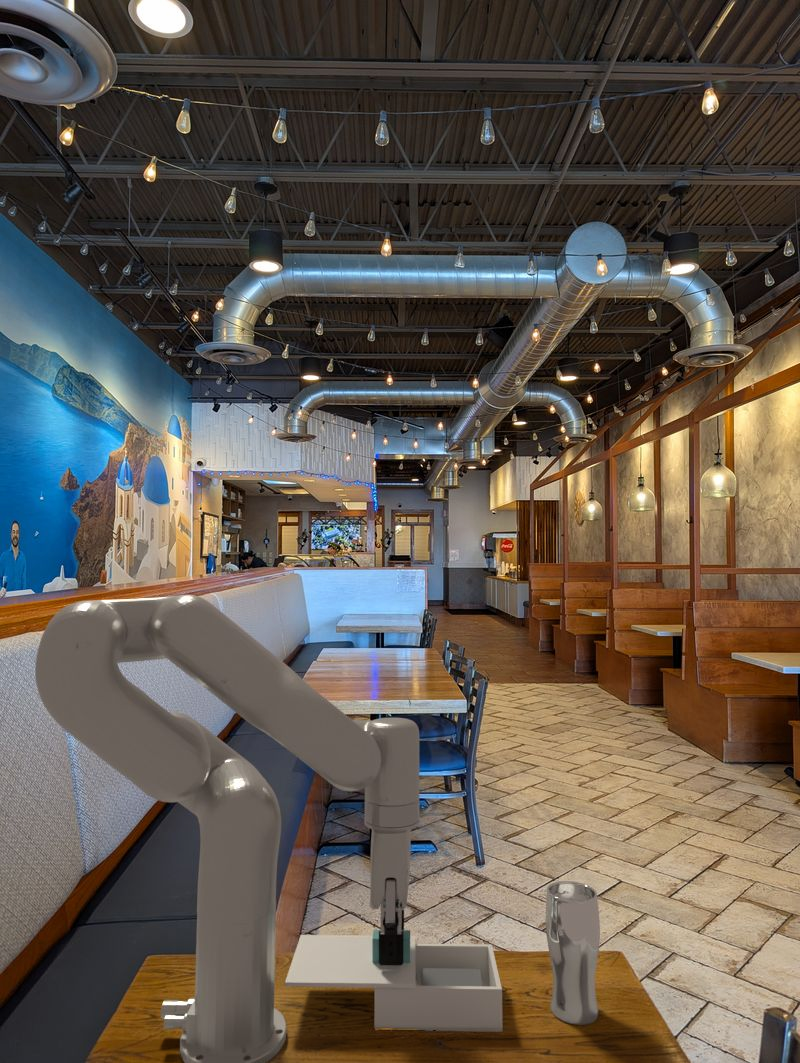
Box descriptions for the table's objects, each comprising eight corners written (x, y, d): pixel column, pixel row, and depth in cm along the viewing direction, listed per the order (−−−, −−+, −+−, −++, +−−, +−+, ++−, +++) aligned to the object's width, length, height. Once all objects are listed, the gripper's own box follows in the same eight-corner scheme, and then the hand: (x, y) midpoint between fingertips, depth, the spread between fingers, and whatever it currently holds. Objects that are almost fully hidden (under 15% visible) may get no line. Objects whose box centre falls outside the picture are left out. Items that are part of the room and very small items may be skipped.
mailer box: (374, 1030, 84) (374, 987, 85) (378, 980, 95) (378, 943, 96) (502, 1031, 84) (502, 989, 84) (492, 981, 95) (491, 944, 95)
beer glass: (610, 1026, 85) (606, 902, 86) (555, 1028, 85) (553, 903, 86) (591, 994, 92) (588, 879, 93) (541, 996, 92) (539, 880, 93)
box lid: (284, 986, 84) (285, 957, 85) (300, 938, 96) (301, 912, 97) (415, 988, 84) (415, 958, 85) (415, 939, 96) (415, 913, 96)
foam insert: (422, 1014, 87) (422, 993, 87) (421, 987, 93) (421, 968, 93) (484, 1015, 87) (484, 994, 87) (479, 988, 92) (479, 968, 93)
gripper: (368, 793, 101) (368, 921, 99) (359, 833, 84) (358, 988, 82) (418, 794, 101) (419, 921, 99) (420, 834, 84) (420, 989, 82)
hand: (391, 950), depth 90 cm, fingers open, 5 cm apart
